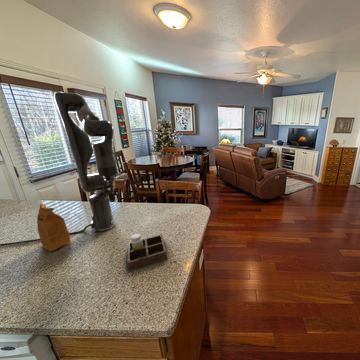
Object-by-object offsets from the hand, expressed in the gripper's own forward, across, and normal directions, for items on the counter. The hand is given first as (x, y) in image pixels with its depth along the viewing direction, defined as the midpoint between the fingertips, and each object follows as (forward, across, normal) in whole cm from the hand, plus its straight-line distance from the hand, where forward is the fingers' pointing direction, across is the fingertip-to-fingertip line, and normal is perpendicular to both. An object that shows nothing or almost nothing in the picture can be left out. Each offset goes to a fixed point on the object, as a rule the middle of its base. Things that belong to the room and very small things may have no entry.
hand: (113, 197), depth 92 cm
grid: (+26, +16, +11) cm, 33 cm away
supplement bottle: (+26, +13, +7) cm, 29 cm away
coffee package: (+26, -14, -30) cm, 42 cm away
